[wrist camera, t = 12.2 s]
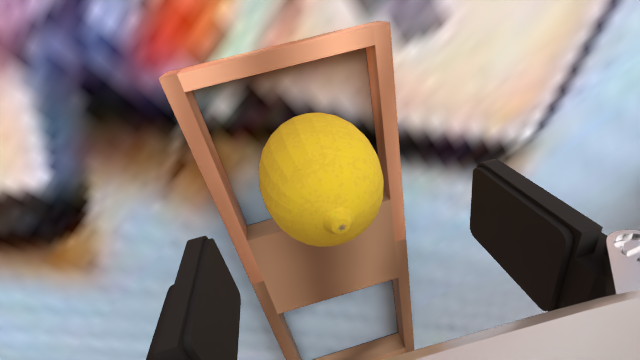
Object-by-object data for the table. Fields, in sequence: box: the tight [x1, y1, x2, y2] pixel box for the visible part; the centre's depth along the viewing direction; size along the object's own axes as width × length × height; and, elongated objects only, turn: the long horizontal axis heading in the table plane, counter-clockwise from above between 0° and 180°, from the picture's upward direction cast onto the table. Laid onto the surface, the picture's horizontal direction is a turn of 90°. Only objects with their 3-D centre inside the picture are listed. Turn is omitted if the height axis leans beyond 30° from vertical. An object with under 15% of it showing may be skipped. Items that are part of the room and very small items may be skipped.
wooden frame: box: [159, 21, 414, 360], centre depth 22 cm, size 11×27×2 cm, turn 12°
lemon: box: [259, 113, 384, 247], centre depth 15 cm, size 6×6×8 cm
